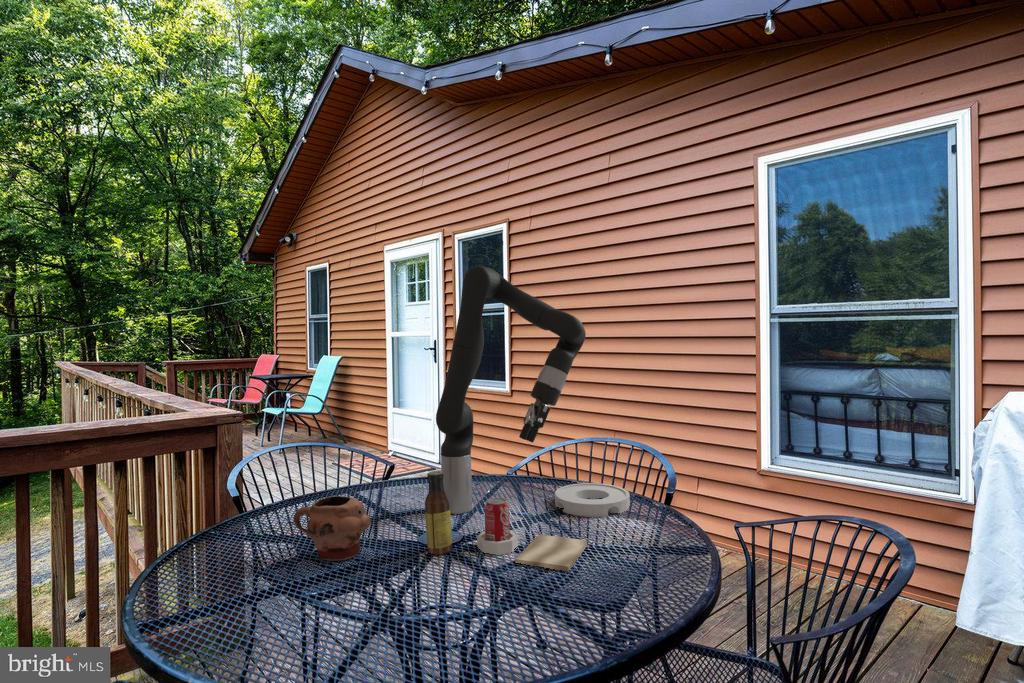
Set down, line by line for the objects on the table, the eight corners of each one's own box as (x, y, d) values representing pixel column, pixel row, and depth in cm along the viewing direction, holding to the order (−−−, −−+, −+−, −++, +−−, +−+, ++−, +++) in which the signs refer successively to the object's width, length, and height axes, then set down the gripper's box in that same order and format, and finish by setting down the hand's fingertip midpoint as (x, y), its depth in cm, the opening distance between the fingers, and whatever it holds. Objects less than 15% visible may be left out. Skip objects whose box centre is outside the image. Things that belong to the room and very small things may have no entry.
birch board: (515, 564, 136) (515, 559, 136) (539, 538, 152) (539, 534, 152) (568, 571, 131) (568, 566, 131) (587, 545, 147) (587, 540, 147)
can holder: (472, 552, 144) (472, 540, 144) (488, 538, 152) (488, 527, 152) (507, 557, 140) (507, 544, 140) (521, 543, 149) (521, 531, 149)
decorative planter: (282, 565, 138) (280, 507, 137) (302, 546, 150) (301, 493, 150) (365, 565, 137) (363, 507, 137) (379, 545, 149) (377, 492, 149)
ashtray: (623, 521, 165) (623, 507, 165) (545, 513, 173) (545, 500, 173) (635, 498, 187) (634, 486, 187) (565, 492, 195) (565, 480, 195)
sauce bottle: (456, 547, 147) (454, 470, 146) (445, 557, 141) (443, 476, 140) (433, 545, 149) (431, 468, 148) (421, 554, 143) (419, 474, 142)
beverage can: (511, 543, 149) (510, 497, 149) (508, 552, 143) (507, 504, 143) (487, 542, 150) (486, 496, 149) (483, 552, 144) (482, 504, 143)
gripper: (531, 380, 165) (508, 432, 162) (543, 378, 151) (518, 436, 149) (554, 391, 166) (532, 443, 163) (568, 390, 152) (544, 447, 150)
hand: (525, 440), depth 156 cm, fingers open, 8 cm apart
